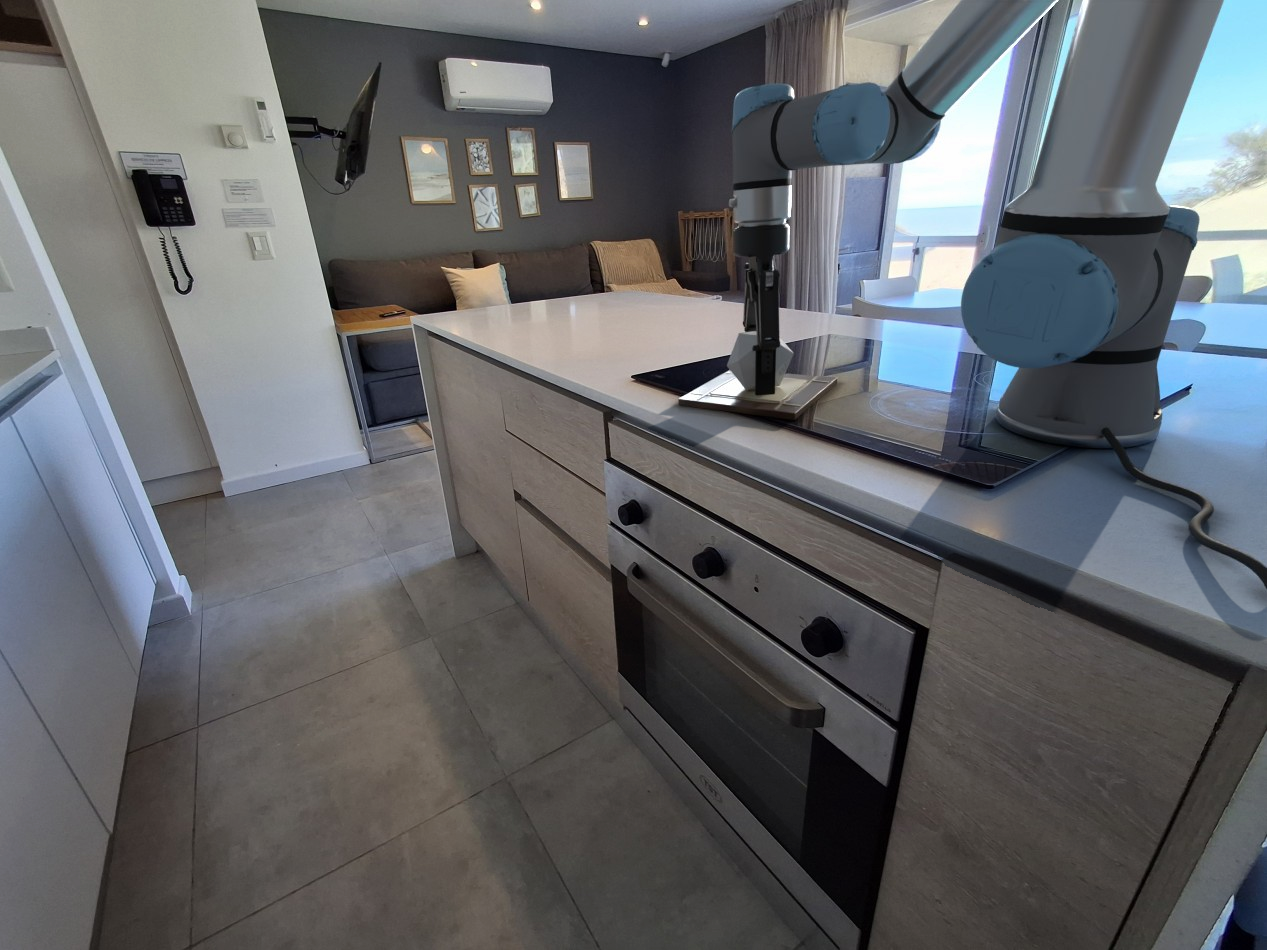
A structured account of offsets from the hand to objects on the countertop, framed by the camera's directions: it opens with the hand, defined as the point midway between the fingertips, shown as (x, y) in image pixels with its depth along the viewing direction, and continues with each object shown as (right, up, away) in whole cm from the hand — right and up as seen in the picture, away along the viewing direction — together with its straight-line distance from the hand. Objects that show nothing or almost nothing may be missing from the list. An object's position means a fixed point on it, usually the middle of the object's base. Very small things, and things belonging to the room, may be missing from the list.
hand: (759, 384), depth 86 cm
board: (0, -1, +1) cm, 2 cm away
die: (0, 0, 0) cm, 0 cm away
